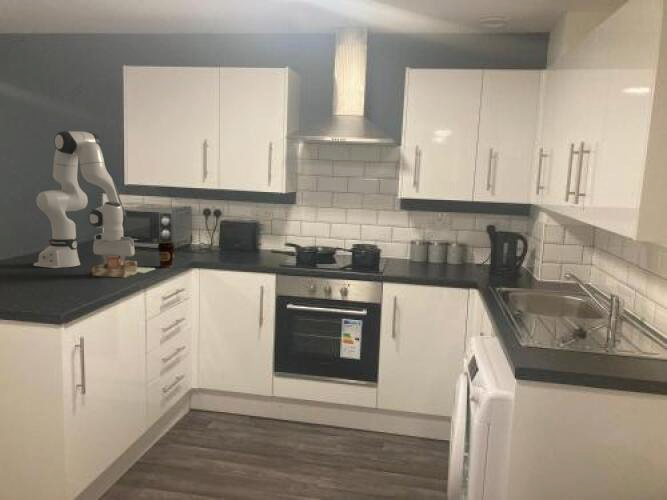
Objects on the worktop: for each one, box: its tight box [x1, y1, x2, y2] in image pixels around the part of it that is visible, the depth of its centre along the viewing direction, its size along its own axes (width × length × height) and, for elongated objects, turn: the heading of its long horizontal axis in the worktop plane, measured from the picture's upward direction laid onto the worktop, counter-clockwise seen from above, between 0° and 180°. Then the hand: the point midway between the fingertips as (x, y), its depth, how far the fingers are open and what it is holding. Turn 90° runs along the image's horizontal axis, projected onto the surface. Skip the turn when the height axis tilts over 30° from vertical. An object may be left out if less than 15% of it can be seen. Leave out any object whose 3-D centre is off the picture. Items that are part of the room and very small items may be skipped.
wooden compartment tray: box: [91, 259, 138, 278], centre depth 279 cm, size 17×11×6 cm, turn 79°
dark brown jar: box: [157, 241, 176, 268], centre depth 302 cm, size 9×8×13 cm
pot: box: [107, 255, 121, 269], centre depth 278 cm, size 6×6×10 cm
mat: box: [137, 266, 156, 274], centre depth 291 cm, size 12×12×1 cm
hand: (114, 264), depth 278 cm, fingers closed on pot, 5 cm apart
